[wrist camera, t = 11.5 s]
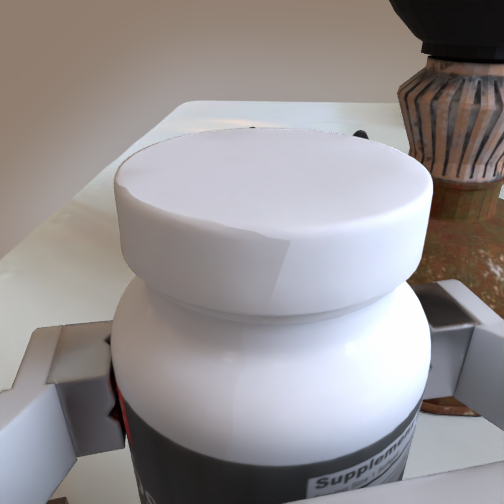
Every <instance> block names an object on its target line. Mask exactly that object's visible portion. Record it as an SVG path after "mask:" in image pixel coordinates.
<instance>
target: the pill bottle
mask: <svg viewBox="0 0 504 504" xmlns="http://www.w3.org/2000/svg"><path fill="white" fill-rule="evenodd" d="M114 193H115V200H116V206H117V213H118V220H119V228H120V239H121V249H122V253H123V256H124V259H125V260H126V262H127V264H128V266H129V267H130V268H131V269H132V271H133V272H134V273H135V274H136V276H135V277H134V279H133V280H132V281H131V283H130V284H129V285H128V287H127V288H126V290H125V292H124V293H123V295H122V297H121V299H120V301H119V304H118V306H117V309H116V312H115V316H114V319H113V323H112V331H111V356H112V364H113V372H114V378H115V384H116V388H117V391H118V396H119V403H120V407H121V411H122V416H123V420H124V425H125V430H126V434H127V439H128V444H129V448H130V452H131V458H132V462H133V467H134V473H135V477H136V481H137V486H138V491H139V497H140V501H141V504H283V503H288V502H294V501H299V500H304V499H309V498H314V497H319V496H324V495H330V494H335V493H340V492H345V491H350V490H355V489H360V488H366V487H371V486H376V485H381V484H386V483H391V482H396V481H402V477H403V473H404V469H405V465H406V461H407V458H408V454H409V449H410V445H411V441H412V438H413V434H414V430H415V427H416V422H417V419H418V415H419V411H420V407H421V404H422V400H423V396H424V392H425V388H426V383H427V379H428V371H429V366H430V360H431V339H430V331H429V326H428V322H427V319H426V316H425V313H424V311H423V308H422V306H421V304H420V301H419V300H418V298H417V296H416V295H415V293H414V291H413V290H412V289H411V287H410V286H409V285H408V283H407V282H406V280H407V279H408V278H409V277H410V276H411V275H412V274H413V272H414V271H415V270H416V268H417V266H418V265H419V262H420V260H421V257H422V251H423V246H424V241H425V236H426V230H427V225H428V219H429V213H430V207H431V201H432V195H433V181H432V178H431V175H430V174H429V172H428V171H427V169H426V168H425V167H424V166H423V165H422V164H421V163H419V162H418V161H417V160H416V159H414V158H413V157H411V156H409V155H407V154H405V153H403V152H401V151H399V150H397V149H395V148H392V147H390V146H387V145H384V144H382V143H378V142H375V141H372V140H368V139H364V138H360V137H355V136H350V135H345V134H339V133H332V132H324V131H316V130H305V129H293V128H237V129H225V130H216V131H207V132H199V133H194V134H188V135H183V136H179V137H175V138H172V139H168V140H165V141H162V142H159V143H156V144H153V145H151V146H148V147H146V148H144V149H142V150H140V151H138V152H136V153H134V154H133V155H131V156H130V157H128V158H127V159H126V160H125V161H123V163H122V164H121V165H120V166H119V168H118V170H117V172H116V174H115V178H114Z"/></svg>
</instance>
